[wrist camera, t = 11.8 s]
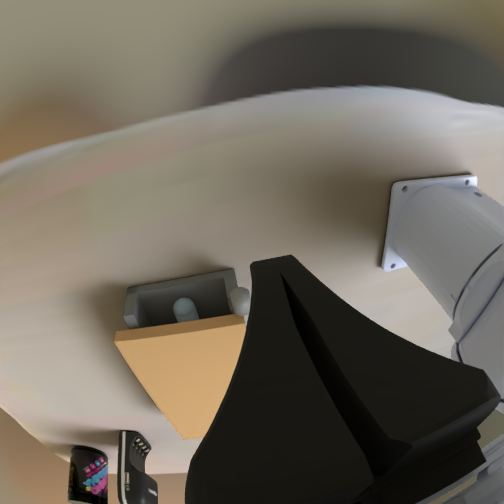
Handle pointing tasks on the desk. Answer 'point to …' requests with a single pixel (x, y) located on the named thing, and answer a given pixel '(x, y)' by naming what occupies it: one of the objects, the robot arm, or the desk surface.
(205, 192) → the desk surface
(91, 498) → the supplement container
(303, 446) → the robot arm
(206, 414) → the cover
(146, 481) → the battery charger
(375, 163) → the desk surface
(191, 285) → the grey tray with rod
